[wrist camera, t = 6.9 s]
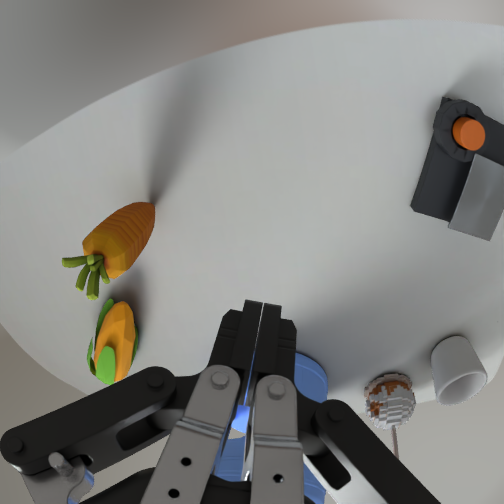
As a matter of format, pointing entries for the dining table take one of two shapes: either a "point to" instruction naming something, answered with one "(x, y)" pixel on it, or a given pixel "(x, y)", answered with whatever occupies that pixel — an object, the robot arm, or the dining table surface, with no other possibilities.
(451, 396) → the cup
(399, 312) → the dining table surface
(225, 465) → the water jug
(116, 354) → the corn
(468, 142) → the button
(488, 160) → the plate
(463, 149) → the scale
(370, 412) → the caramel apple
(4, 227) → the dining table surface
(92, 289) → the carrot
